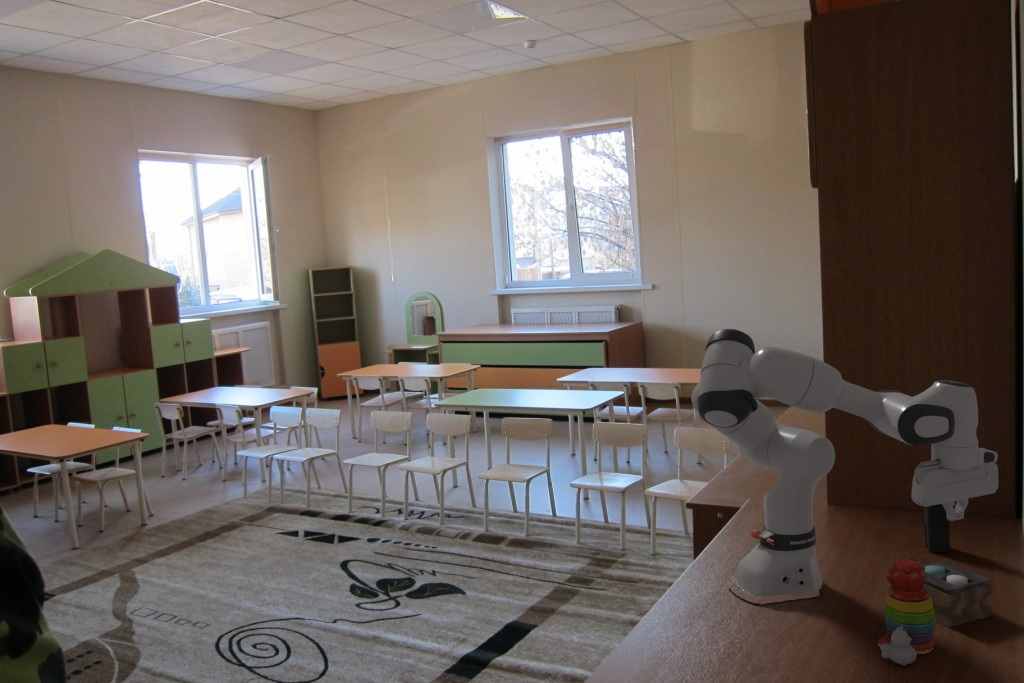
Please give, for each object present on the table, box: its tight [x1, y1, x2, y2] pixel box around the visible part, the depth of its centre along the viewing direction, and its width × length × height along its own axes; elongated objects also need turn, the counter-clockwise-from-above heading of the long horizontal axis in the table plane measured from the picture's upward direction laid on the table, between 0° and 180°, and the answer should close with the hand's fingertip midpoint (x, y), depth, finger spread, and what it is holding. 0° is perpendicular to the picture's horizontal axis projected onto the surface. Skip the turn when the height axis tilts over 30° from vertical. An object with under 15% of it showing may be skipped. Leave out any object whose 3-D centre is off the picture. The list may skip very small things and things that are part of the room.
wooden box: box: [921, 559, 994, 626], centre depth 187 cm, size 12×13×8 cm
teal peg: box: [925, 565, 945, 576], centre depth 190 cm, size 4×4×8 cm
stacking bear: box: [877, 556, 936, 652], centre depth 173 cm, size 11×10×18 cm
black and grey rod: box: [923, 504, 951, 553], centre depth 219 cm, size 5×5×25 cm
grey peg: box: [947, 575, 968, 586], centre depth 184 cm, size 4×4×8 cm
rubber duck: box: [879, 626, 918, 664], centre depth 167 cm, size 5×7×8 cm
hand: (955, 519), depth 182 cm, fingers closed
